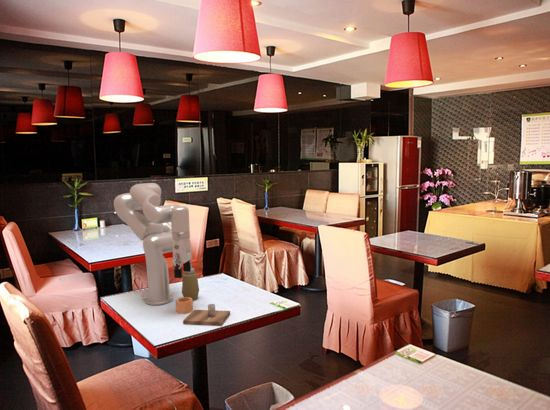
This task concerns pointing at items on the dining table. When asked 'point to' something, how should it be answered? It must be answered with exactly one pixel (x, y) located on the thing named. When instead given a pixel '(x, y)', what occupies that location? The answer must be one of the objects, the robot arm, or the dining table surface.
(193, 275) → the squeeze bottle
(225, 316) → the hub board
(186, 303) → the terracotta pot
